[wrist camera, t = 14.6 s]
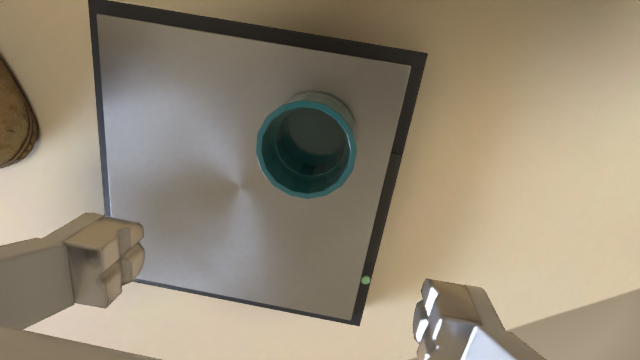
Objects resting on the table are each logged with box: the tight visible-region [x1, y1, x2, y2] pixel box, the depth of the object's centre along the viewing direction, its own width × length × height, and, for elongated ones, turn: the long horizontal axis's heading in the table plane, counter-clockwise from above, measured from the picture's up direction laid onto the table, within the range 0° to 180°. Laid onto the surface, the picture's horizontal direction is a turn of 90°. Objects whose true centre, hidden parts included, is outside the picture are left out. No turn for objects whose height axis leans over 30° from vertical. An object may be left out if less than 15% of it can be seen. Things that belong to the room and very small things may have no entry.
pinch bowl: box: [256, 92, 357, 199], centre depth 25 cm, size 6×6×5 cm
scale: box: [88, 0, 428, 326], centre depth 31 cm, size 25×25×3 cm
